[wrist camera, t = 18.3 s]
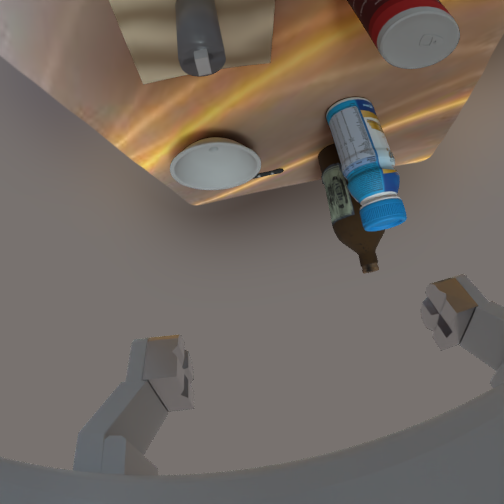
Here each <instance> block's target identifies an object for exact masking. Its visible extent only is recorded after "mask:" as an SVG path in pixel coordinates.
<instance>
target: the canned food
mask: <svg viewBox="0 0 504 504" xmlns="http://www.w3.org/2000/svg"><path fill="white" fill-rule="evenodd" d="M347 1H348V3H349V4H350V6H351V7H352V9H353V10H354V12H355V13H356V15H357V16H358V18H359V20H360V21H361V23H362V24H363V26H364V28H365V29H366V31H367V32H368V34H369V36H370V37H371V39H372V41H373V43H374V44H375V46H376V47H377V49H378V51H379V52H380V54H381V55H382V56H383V58H384V59H385V60H386V61H387V62H388V63H389V64H391V65H393V66H396V67H399V68H404V69H417V68H423V67H427V66H430V65H433V64H435V63H437V62H439V61H441V60H443V59H444V58H446V57H447V56H448V55H449V54H451V53H452V51H453V50H454V49H455V48H456V46H457V44H458V42H459V39H460V31H459V27H458V25H457V23H456V22H455V20H454V18H453V17H452V16H451V15H450V13H449V12H448V11H447V9H446V8H445V7H444V6H443V5H442V4H441V2H440V1H439V0H347Z"/></svg>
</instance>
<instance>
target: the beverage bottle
mask: <svg viewBox="0 0 504 504" xmlns="http://www.w3.org/2000/svg"><path fill="white" fill-rule="evenodd" d="M326 119H327V122H328V125H329V127H330V129H331V133H332V136H333V139H334V142H335V145H336V149H337V152H338V155H339V159H340V162H341V165H342V173H343V175H344V177H345V178H346V179H347V180H348V190H349V192H350V193H351V195H352V196H353V197H354V199H355V200H356V201H357V202H358V203H360V204H361V205H362V207H361V208H360V216H361V220H362V224H363V227H364V230H365V231H380V230H384V229H388V228H391V227H394V226H397V225H399V224H401V223H403V222H405V220H406V218H407V217H406V212H405V208H404V205H403V202H402V200H401V198H400V197H397V193H398V189H399V173H398V171H397V170H395V168H394V166H395V159H394V156H393V154H392V152H391V151H390V148H389V145H388V143H387V140H386V137H385V135H384V132H383V130H382V127H381V125H380V123H379V120H378V118H377V115H376V113H375V110H374V107H373V105H372V103H371V102H370V101H369V100H367V99H365V98H361V97H351V98H346V99H343V100H340V101H338V102H336V103H335V104H333V105H332V106H331V107H330V108H329V110H328V111H327V114H326Z"/></svg>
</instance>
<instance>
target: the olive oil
mask: <svg viewBox="0 0 504 504" xmlns="http://www.w3.org/2000/svg"><path fill="white" fill-rule="evenodd" d="M318 159H319V163H320V167H321V171H322V176H321V177H322V182H323V184H324V185H325V189H326V194H327V199H328V204H329V209H330V214H331V219H332V226H333V229H334V232H335V234H336V235H337V237H338V239H339V240H340V241H341V242H342V243H343V244H345V245H346V246H348V247H349V248H351V249H352V250H354V251H355V252H356V253H357V254H358V255H359V258H360V264H361V266H362V269H363V270H362V271H363V273H369V272H373V271H377V270H379V267H378V265H377V263H378V260H377V256H376V253H375V250H376V247H377V245H378V243H379V241H380V239H381V238H382V236H383V234H384V231H385V229H384V230H380V231H365V230H364V227H363V224H362V220H361V216H360V208H361V207H362V205H361V204H360V203H358V202H357V201H356V200H355V199H354V197H353V196H352V195H351V193H350V192H349V190H348V180H347V179H346V178H345V177H344V175H343V173H342V165H341V162H340V159H339V155H338V152H337V149H336V145H335V144H333V145H330V146H328V147H326V148H325V149H323V150H322V151H321V152H320V154H319V156H318Z"/></svg>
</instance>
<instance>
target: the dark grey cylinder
mask: <svg viewBox="0 0 504 504" xmlns="http://www.w3.org/2000/svg"><path fill="white" fill-rule="evenodd" d="M175 9H176V31H177V49H178V60H179V63H180V66H181V68H182V70H183V71H184V72H185V73H187V74H189V75H192V76H208V75H211V74H214V73H216V72H217V71H219V70H220V69H221V68H222V67H223V66H224V64H225V62H226V56H225V50H224V45H223V40H222V36H221V31H220V26H219V21H218V16H217V12H216V7H215V2H214V0H176V4H175Z"/></svg>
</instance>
